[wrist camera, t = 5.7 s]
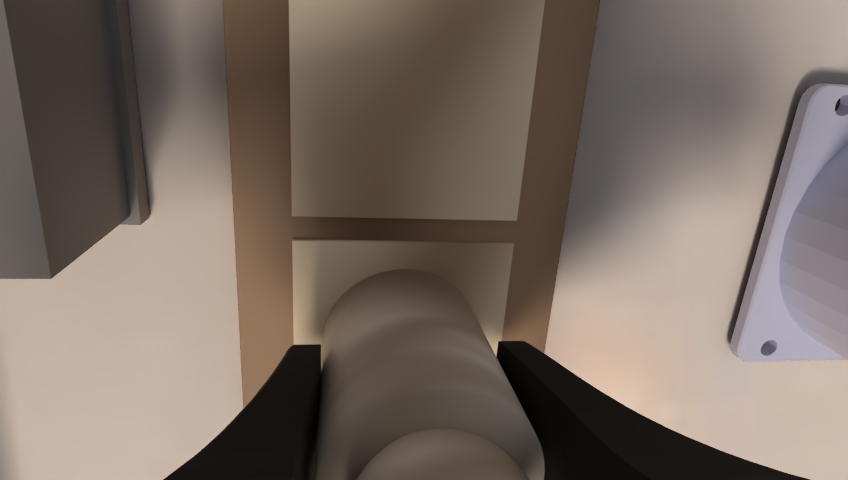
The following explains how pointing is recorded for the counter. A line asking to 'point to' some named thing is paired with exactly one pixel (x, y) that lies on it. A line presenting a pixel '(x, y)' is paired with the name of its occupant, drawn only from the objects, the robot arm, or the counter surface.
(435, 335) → the pawn
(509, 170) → the board
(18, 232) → the frame
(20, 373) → the counter surface
